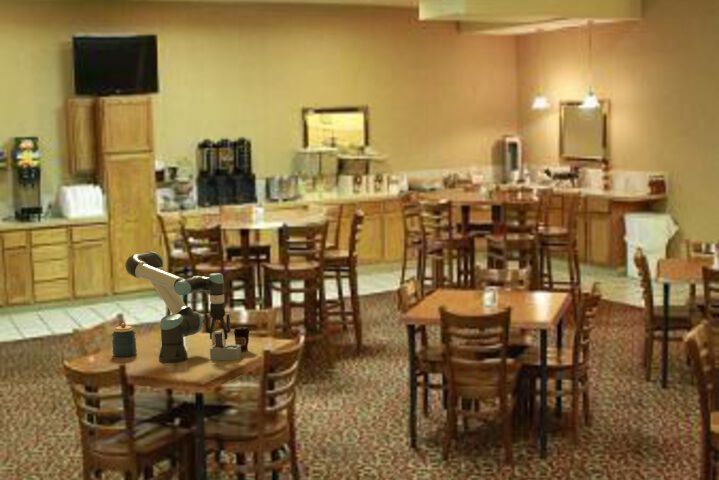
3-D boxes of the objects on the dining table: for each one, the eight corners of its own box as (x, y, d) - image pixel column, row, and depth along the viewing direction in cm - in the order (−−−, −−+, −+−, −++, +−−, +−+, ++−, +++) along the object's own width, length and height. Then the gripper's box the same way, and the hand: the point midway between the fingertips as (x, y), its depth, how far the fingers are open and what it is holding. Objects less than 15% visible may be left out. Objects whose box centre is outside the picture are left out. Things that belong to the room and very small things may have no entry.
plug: (214, 354, 536) (213, 332, 534) (216, 352, 540) (215, 330, 538) (222, 354, 535) (220, 332, 534) (224, 353, 539) (223, 330, 538)
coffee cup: (247, 353, 547) (246, 329, 546) (232, 352, 549) (231, 329, 547) (251, 349, 556) (251, 326, 554) (237, 349, 557) (236, 326, 556)
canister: (107, 355, 550) (106, 323, 548) (128, 351, 560) (126, 319, 558) (121, 358, 541) (119, 326, 539) (141, 354, 551) (140, 322, 549)
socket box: (210, 359, 533) (209, 348, 533) (216, 355, 543) (215, 343, 542) (236, 360, 531) (235, 348, 530) (241, 355, 541) (240, 344, 540)
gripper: (198, 303, 532) (200, 346, 535) (232, 303, 529) (233, 347, 532) (202, 301, 539) (204, 343, 542) (236, 301, 536) (237, 343, 539)
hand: (219, 345), depth 537 cm, fingers open, 5 cm apart
